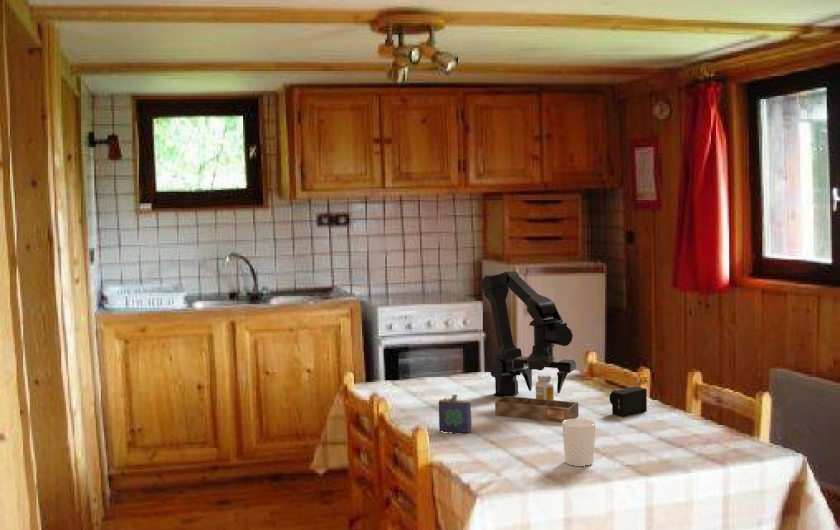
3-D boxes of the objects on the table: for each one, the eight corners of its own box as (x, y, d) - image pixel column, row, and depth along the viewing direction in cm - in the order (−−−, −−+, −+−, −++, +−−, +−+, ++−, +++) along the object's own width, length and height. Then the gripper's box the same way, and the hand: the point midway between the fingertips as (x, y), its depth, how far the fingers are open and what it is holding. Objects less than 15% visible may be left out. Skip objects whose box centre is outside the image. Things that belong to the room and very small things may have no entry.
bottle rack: (494, 415, 265) (494, 402, 264) (505, 408, 272) (505, 395, 272) (569, 422, 254) (568, 409, 254) (578, 415, 261) (578, 402, 261)
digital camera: (632, 408, 269) (632, 385, 268) (647, 411, 264) (646, 388, 264) (608, 414, 263) (608, 390, 262) (623, 417, 258) (622, 393, 258)
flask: (472, 431, 248) (471, 393, 247) (470, 434, 245) (469, 396, 244) (440, 430, 251) (439, 392, 250) (437, 433, 248) (436, 395, 247)
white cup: (559, 458, 221) (558, 419, 221) (590, 457, 222) (590, 417, 221) (567, 468, 214) (566, 427, 213) (599, 466, 214) (599, 426, 213)
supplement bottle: (553, 404, 276) (552, 373, 275) (554, 408, 271) (553, 377, 270) (535, 404, 277) (535, 373, 276) (536, 408, 271) (535, 377, 270)
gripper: (504, 344, 269) (505, 395, 271) (564, 348, 260) (564, 400, 262) (518, 338, 279) (519, 387, 280) (576, 341, 270) (576, 392, 272)
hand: (544, 391), depth 273 cm, fingers open, 9 cm apart
